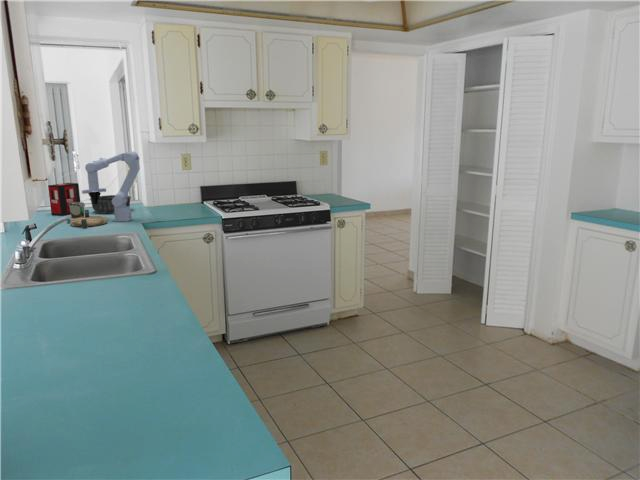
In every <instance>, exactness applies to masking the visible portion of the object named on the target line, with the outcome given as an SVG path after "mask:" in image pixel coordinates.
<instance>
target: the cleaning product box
mask: <svg viewBox="0 0 640 480" xmlns="http://www.w3.org/2000/svg"><path fill="white" fill-rule="evenodd" d="M47 188H48V197H49V205H50V212H51V216H53V217H56V216H57V217H64V216H69V215H70V216H71V212H70V207H69V203H71V202H81V195H80V186H79V182H78V183H77V182H65V183H58V184H50V185H49V184H48V186H47Z"/></svg>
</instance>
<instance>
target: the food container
mask: <svg viewBox="0 0 640 480" xmlns="http://www.w3.org/2000/svg"><path fill="white" fill-rule="evenodd" d="M69 207H70V212H71V214H70V218H71V219H74V218H79V217H85V211H84V210H85V207H86V205H85V202H83V201H80V202H71V203H69Z"/></svg>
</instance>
